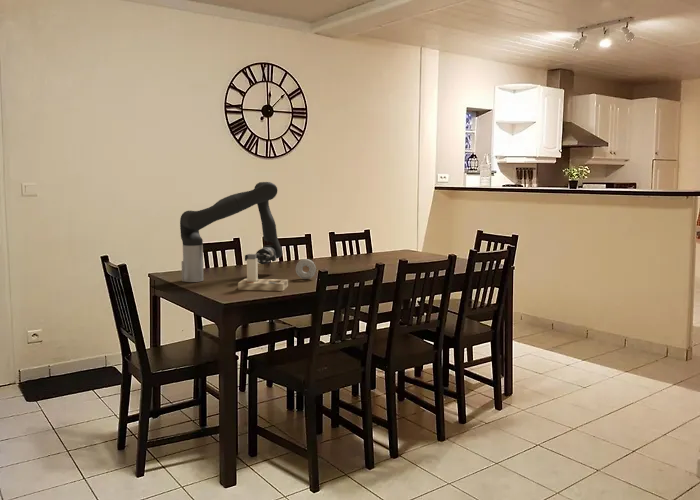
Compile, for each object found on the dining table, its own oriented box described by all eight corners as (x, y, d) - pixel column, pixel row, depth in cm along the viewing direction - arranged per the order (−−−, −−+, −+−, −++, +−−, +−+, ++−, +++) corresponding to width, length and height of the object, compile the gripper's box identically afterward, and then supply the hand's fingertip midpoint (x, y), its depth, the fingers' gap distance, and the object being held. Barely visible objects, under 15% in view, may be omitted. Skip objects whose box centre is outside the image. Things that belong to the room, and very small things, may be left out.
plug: (247, 288, 280) (246, 254, 279) (249, 286, 284) (248, 253, 283) (255, 288, 280) (255, 255, 278) (257, 286, 284) (257, 253, 282)
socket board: (238, 289, 277) (238, 282, 276) (244, 285, 288) (244, 278, 288) (283, 290, 275) (283, 283, 275) (288, 286, 287) (288, 278, 286)
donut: (295, 279, 305) (295, 259, 304) (296, 278, 309) (296, 258, 308) (315, 279, 305) (315, 259, 304) (316, 278, 308) (316, 258, 307)
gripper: (250, 247, 308) (242, 251, 292) (279, 248, 307) (272, 252, 291) (250, 262, 309) (242, 267, 293) (279, 263, 308) (272, 268, 292)
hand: (257, 259), depth 292 cm, fingers open, 8 cm apart
